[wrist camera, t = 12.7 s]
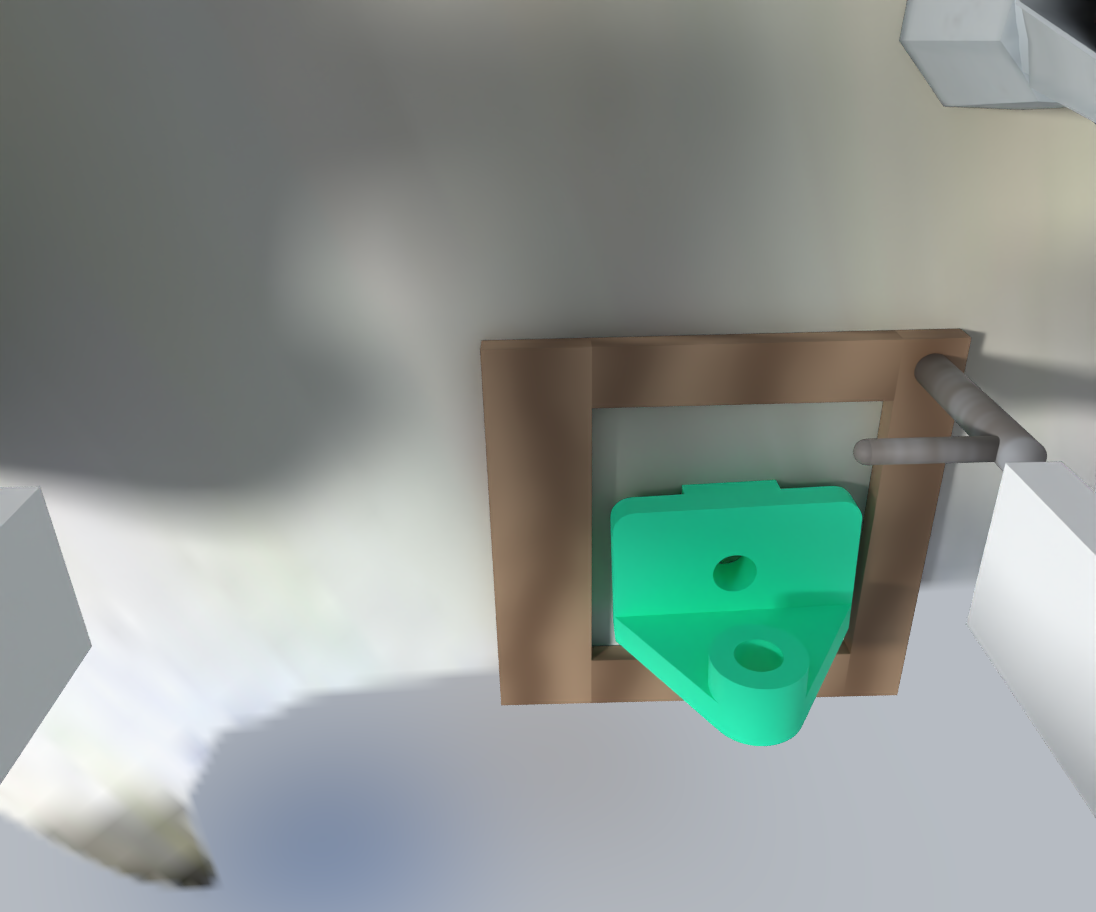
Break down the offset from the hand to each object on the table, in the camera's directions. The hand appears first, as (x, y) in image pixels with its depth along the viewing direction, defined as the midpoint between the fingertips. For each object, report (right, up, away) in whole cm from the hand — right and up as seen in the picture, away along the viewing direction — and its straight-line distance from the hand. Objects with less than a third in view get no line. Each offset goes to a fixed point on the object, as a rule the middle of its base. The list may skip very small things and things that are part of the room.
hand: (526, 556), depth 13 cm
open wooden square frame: (+8, -2, +34) cm, 35 cm away
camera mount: (+10, -3, +35) cm, 36 cm away
